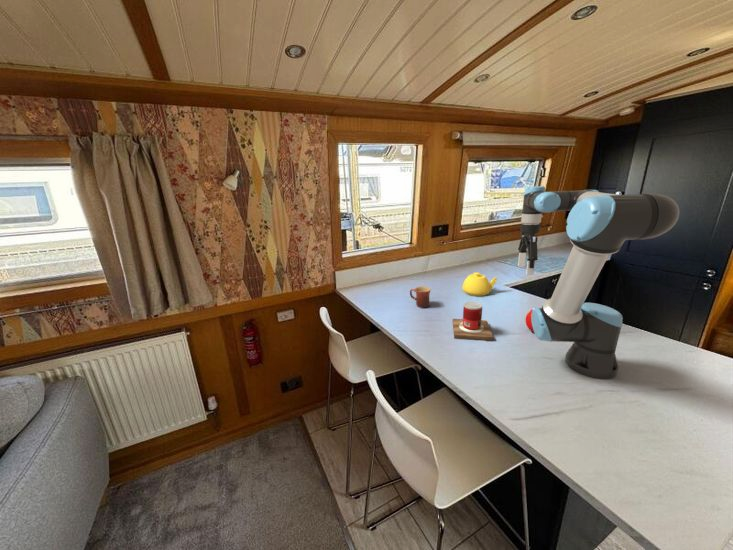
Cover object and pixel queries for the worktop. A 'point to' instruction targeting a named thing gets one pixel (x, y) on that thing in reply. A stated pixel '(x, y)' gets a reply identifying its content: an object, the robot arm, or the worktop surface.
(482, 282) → the teapot
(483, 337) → the board
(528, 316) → the tomato
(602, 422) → the worktop surface
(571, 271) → the robot arm
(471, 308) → the canned food
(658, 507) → the worktop surface
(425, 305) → the mug
